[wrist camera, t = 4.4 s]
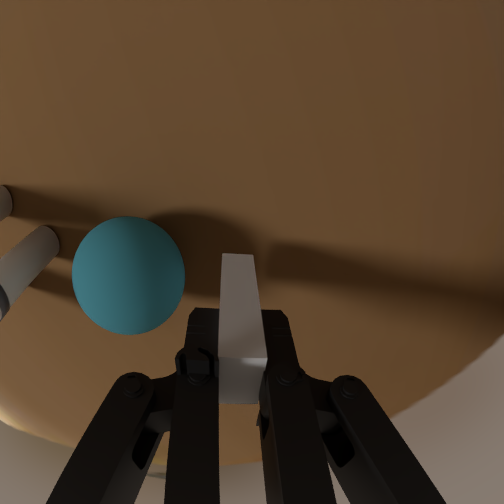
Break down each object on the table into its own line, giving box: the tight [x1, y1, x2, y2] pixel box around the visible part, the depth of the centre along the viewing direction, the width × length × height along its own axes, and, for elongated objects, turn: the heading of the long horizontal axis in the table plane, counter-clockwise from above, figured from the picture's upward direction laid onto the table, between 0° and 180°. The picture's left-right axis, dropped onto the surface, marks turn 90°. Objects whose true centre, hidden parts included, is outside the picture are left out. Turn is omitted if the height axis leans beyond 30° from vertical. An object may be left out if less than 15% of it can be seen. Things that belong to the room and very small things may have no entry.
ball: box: [72, 216, 185, 335], centre depth 14 cm, size 6×6×6 cm
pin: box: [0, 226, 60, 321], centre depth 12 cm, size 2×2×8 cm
